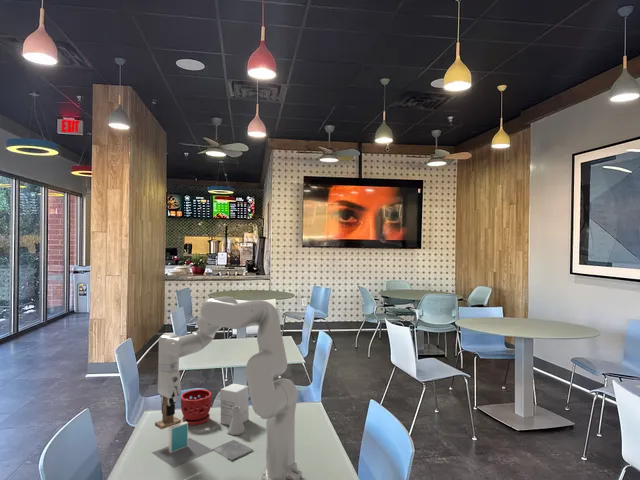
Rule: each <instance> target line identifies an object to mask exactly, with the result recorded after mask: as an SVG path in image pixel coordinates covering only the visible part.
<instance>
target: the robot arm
mask: <svg viewBox="0 0 640 480" xmlns="http://www.w3.org/2000/svg"><path fill="white" fill-rule="evenodd" d="M277 310H278V309H276V307H275V305H273V304H272V303H270V302H269V301H267V300H262V299H256V300H248V301H244V302H239V303H238V301H237V300H236V298H234V297H232V296H220V297H219V296H218V297H213V298H209V299H207V300H205V301H204V302H203V303H202V305H201V307H200V316H198V318H197V319H196V326H197V328H198V329H197V330H196V331H194V332H193V333H189V334H186V335H182V336H179V335H178V334H176V333H167V334H166V333H165V334H162V335H160V336H159V337H158V366H157V367H158V368H157V369H158V371H157V372H158V375H157V393H158V394H159V396H160V403H161V415H163V396H165V397H167V401H168V406H167V416H171V415H175V414H176V404H177V402H178V401H179V399H180V398H179V397H181V395H182V386H181V375H180V374H181V373H180V370H179V369H180V358H183V357H186V356H188V355H192V354H195V353H198V352H200V351H202V350H203V349H205V348H206V347H207V346H208V345H209V344H210V343H212V341H213V340H214V339H215V335H216V333H217V332H218V331H220V330H221V329H222V328H226V329H232V330H243V329H246V328H249V327H252V326H256V325H257V326H258V328H257V334H256V340H257V346H258V352H257V353H254V354H253V355H252V356H250V358H249V359H248V360H247V362H246V367H245V375H246V383H247V386H248V395H249V399H250V403H251V406H252V409H253V412H254V413H255V415H256V416H257V417H258V418H259V419H262V420H266V426H265V427H266V433H265V437H266V438H265V440H266V441H265V442H266V443H265V445H266V446H265V447H266V448H265V450H266V451H265V452H266V453H265V455H266V456H265V457H266V459H265V460H266V461H265V467H264V468H263V469H262V471H261V479H262V480H300V478H301V476H302V473H303V472H302V471H301V470H300V469H299V467H298V463H297V462H296V461H295V459H296V458H295V456H296V455H295V452H296V450H295V448H296V447H295V446H296V445H295V442H296V441H295V440H296V439H295V436H296V435H295V434H296V433H295V432H296V429H295V428H296V410H297V409H296V408H297V401H298V389H297V387H296V384H295V382H293V381H292V380H290V379H287V378H279V379H276V380H274V379H275V378H277V377H279V376H281V375H283V374H284V373H285V372H286V370H287V368H288V358H287V353H286V348H285V344H284V339H283V335H282V329H281V321H280V320H281V319H280V315H279V313H278V311H277ZM172 395H173V396H172ZM172 398H173V399H172ZM170 399H172V400H171V401H170Z"/></svg>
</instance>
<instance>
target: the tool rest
mask: <svg viewBox="0 0 640 480" xmlns="http://www.w3.org/2000/svg"><path fill="white" fill-rule="evenodd" d="M212 450H214V452H215V453H217V454H220V456H222V457H225V458H226V459H227V460H229V461H230V462H233V461H235V460H237V459H240V458H242V457H244V456H246V455H248V454H250V453H253V452H254V449H253V448H251V447H249V446H247V445H245V444H243V443H241V442H239V441H237V440H234V439H233V440H230V441H227V442H225V443H223V444H220V445H218V446H216V447H214V448H213V447H212Z"/></svg>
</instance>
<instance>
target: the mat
mask: <svg viewBox="0 0 640 480" xmlns="http://www.w3.org/2000/svg"><path fill="white" fill-rule="evenodd" d="M212 449H213V448H212ZM212 449H211V448H209V447H208V446H206V445H204V444H203V443H201V442H199V441H197V440H194V439H193V438H191V437H188V446H187V447H185V448H182V449H180V450H177V451H175V452H172V453H170V452H169V445H168V446H165V447H163V448H161V449H158V450H155V451H153V452H151V454H153V455H155V456H156V457H157V458H158V459H160V460H162V461H163V462H165V463H167V464H168V465H170V466H171V467H173V468H176V467H179V466H182V465H184V464H186V463H189V462H190V461H193V460H195V459H197V458H200V457H202V456H204V455H208V454H209V453H212V452H213V451H214V450H212ZM214 452H215V451H214Z"/></svg>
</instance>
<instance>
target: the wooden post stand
mask: <svg viewBox="0 0 640 480" xmlns="http://www.w3.org/2000/svg"><path fill="white" fill-rule="evenodd" d="M172 396H173V395H172ZM172 399H173V398H172ZM172 399H170V401H171V400H172ZM167 406H168V401H167V397H165V396H163V414H161V415H162V418H161V420H159V421H155V422H154V426H155V427H157V428H158V429H160V430H163V429H168V428H169V427H172V426H174V425H177V424H180V423H182V421H181V419H180V418H178V417H176V416H174V415H175V414H174V415H171V416H167Z"/></svg>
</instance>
